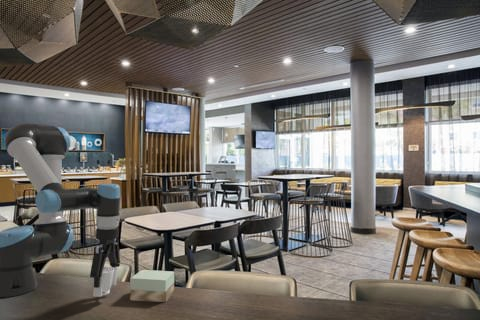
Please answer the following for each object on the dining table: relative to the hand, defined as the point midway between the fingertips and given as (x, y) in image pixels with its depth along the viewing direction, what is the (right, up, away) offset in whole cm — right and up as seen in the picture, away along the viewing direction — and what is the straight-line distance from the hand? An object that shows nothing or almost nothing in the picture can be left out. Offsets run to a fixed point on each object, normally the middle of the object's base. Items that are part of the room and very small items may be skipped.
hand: (105, 290), depth 116 cm
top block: (+16, 0, +5) cm, 16 cm away
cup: (0, 0, 0) cm, 0 cm away
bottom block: (+16, -4, +4) cm, 17 cm away
